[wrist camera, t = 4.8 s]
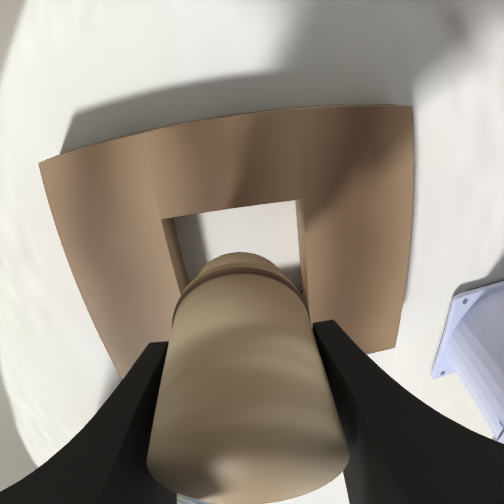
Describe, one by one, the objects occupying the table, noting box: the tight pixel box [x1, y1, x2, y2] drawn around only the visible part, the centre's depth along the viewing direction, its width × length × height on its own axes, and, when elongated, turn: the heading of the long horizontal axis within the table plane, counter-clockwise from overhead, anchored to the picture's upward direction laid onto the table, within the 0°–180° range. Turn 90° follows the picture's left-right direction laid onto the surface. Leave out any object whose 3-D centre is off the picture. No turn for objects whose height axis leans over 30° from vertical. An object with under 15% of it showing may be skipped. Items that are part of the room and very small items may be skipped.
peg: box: [146, 252, 349, 504], centre depth 9 cm, size 4×4×7 cm
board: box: [38, 104, 414, 380], centre depth 15 cm, size 16×13×2 cm
